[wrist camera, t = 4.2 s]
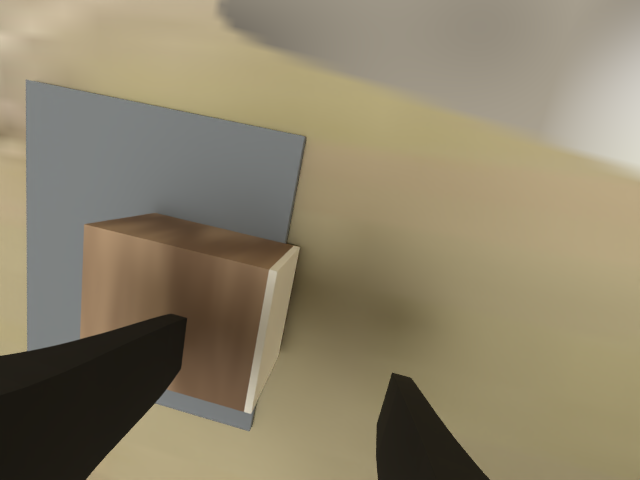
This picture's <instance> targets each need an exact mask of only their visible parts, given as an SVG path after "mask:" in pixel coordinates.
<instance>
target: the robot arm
mask: <svg viewBox="0 0 640 480" xmlns="http://www.w3.org/2000/svg"><path fill="white" fill-rule="evenodd" d="M186 325H187V318H186V317H182V316H178V315H175V314H167V315H162V316H159V317H155V318H151V319H148V320H145V321H141V322H138V323H135V324H131V325H128V326H125V327H122V328H118V329H115V330H112V331H108V332H105V333H101V334H97V335H94V336H90V337H86V338H82V339H79V340H75V341H71V342H67V343H63V344H59V345H55V346H50V347H46V348H41V349H36V350H31V351H26V352H21V353H16V354H10V355H3V356H0V480H86V479H87V477H88V476H89V475H90V474H91V472H92V471H93V470H94V469H95V468H96V467H97V466H98V464H99V463H100V462H101V461H102V460H103V459H104V458H105V456H106V455H107V454H108V453H109V452H110V451H111V450H112V449H113V448H114V447H115V446H116V445H117V443H118V442H119V441H120V440H121V439H122V438H123V437H124V436H125V435H126V434H127V433H128V432H129V431H130V430H131V428H132V427H133V426H134V425H135V424H136V423H137V422H138V421H139V420H140V419H141V418H142V417H143V416H144V415H145V413H146V412H147V411H148V410H149V409H150V408H151V407H152V406H153V405H154V404H155V403H156V401H157V400H158V399H159V398H160V397H161V396H162V395H163V393H164V392H165V391H166V389H167V388H168V387H169V385H170V384H171V383H172V381H173V380H174V378H175V377H176V375H177V374H178V373H179V371H180V370H181V366H182V357H183V349H184V341H185V333H186ZM376 461H377V473H378V480H490V479H489V478H488V477H487V476H486V475H485V474H484V473H483V472H482V470H481V469H480V468H479V467H478V466H477V465H476V464H475V462H474V461H473V460H472V459H471V457H470V456H469V455H468V454H467V453H466V451H465V450H464V449H463V448H462V447H461V445H460V444H459V443H458V442H457V440H456V439H455V438H454V436H453V435H452V434H451V433H450V431H449V430H448V429H447V427H446V426H445V425H444V423H443V422H442V421H441V419H440V418H439V417H438V415H437V414H436V412H435V411H434V410H433V408H432V407H431V405H430V404H429V403H428V401H427V400H426V398H425V397H424V395H423V394H422V393H421V391H420V390H419V388H418V387H417V385H416V384H415V383H414V381H413V380H412V379H411V378H410V377H406V376H402V375H399V374H395V373H392V375H391V379H390V382H389V385H388V389H387V392H386V395H385V399H384V402H383V405H382V409H381V412H380V416H379V419H378V422H377V438H376Z"/></svg>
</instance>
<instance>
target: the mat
mask: <svg viewBox="0 0 640 480" xmlns="http://www.w3.org/2000/svg"><path fill="white" fill-rule="evenodd" d="M305 142H306V137H305V136H301V135H296V134H291V133H286V132H281V131H276V130H271V129H266V128H261V127H256V126H251V125H247V124H242V123H237V122H232V121H227V120H222V119H217V118H212V117H207V116H202V115H197V114H192V113H188V112H183V111H178V110H173V109H168V108H163V107H158V106H153V105H148V104H143V103H138V102H133V101H129V100H124V99H119V98H114V97H109V96H104V95H99V94H94V93H89V92H84V91H79V90H74V89H69V88H65V87H60V86H55V85H50V84H45V83H40V82H35V81H30V80H26V193H27V351H31V350H36V349H41V348H46V347H50V346H55V345H59V344H63V343H67V342H71V341H75V340H79V339H80V327H81V298H82V270H83V242H84V224H89V223H95V222H101V221H107V220H113V219H120V218H126V217H132V216H138V215H144V214H151V213H158V214H162V215H166V216H171V217H175V218H179V219H183V220H188V221H192V222H196V223H200V224H205V225H209V226H213V227H217V228H222V229H226V230H230V231H234V232H239V233H243V234H247V235H251V236H256V237H260V238H264V239H268V240H273V241H277V242H281V243H285V244H286V243H287V238H288V232H289V227H290V222H291V216H292V211H293V206H294V201H295V195H296V190H297V185H298V179H299V174H300V169H301V163H302V158H303V153H304V147H305ZM156 404H159V405H162V406H166V407H169V408H173V409H176V410H179V411H183V412H186V413H189V414H193V415H196V416H199V417H203V418H206V419H210V420H213V421H216V422H220V423H223V424H226V425H230V426H233V427H236V428H240V429H243V430H247V431H250V429H251V427H252V424H253V418H254V413H255V408H256V405H255V407H254V409H253V411H252V413H251V414H249V413H246V412H242V411H239V410H235V409H232V408H228V407H225V406H222V405H218V404H215V403H211V402H208V401H204V400H201V399H197V398H194V397H191V396H187V395H184V394H180V393H177V392H173V391H170V390H167V389H166V391H165V392H164V393H163V395H162V396H161V397H160V398H159V399H158V400H157V401H156Z"/></svg>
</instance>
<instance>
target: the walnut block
mask: <svg viewBox="0 0 640 480" xmlns="http://www.w3.org/2000/svg"><path fill="white" fill-rule="evenodd" d="M299 249H300V247H298V246H294V245H290V244H285V243H281V242H277V241H273V240H268V239H264V238H260V237H256V236H251V235H247V234H243V233H239V232H234V231H230V230H226V229H222V228H217V227H213V226H209V225H205V224H200V223H196V222H192V221H188V220H183V219H179V218H175V217H171V216H166V215H162V214H158V213H151V214H144V215H138V216H132V217H126V218H120V219H113V220H107V221H101V222H95V223H89V224H84V242H83V270H82V298H81V327H80V339H82V338H86V337H90V336H94V335H97V334H101V333H105V332H108V331H112V330H115V329H118V328H122V327H125V326H128V325H131V324H135V323H138V322H141V321H145V320H148V319H151V318H155V317H159V316H162V315H167V314H175V315H178V316H182V317H186V318H187V325H186V333H185V341H184V349H183V357H182V366H181V370H180V371H179V373H178V374H177V375H176V377H175V378H174V380H173V381H172V383H171V384H170V385H169V387H168V388H167V390H170V391H173V392H177V393H180V394H184V395H187V396H191V397H194V398H197V399H201V400H204V401H208V402H211V403H215V404H218V405H222V406H225V407H228V408H232V409H235V410H239V411H242V412H246V413H249V414H251V413H252V411H253V409H254V407H255V405H256V403H257V401H258V398H259V396H260V394H261V392H262V390H263V388H264V386H265V384H266V382H267V379H268V377H269V375H270V373H271V371H272V369H273V367H274V365H275V363H276V360H277V358H278V356H279V351H280V346H281V340H282V335H283V330H284V325H285V320H286V315H287V310H288V305H289V300H290V295H291V290H292V285H293V280H294V275H295V270H296V264H297V259H298V254H299Z"/></svg>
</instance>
